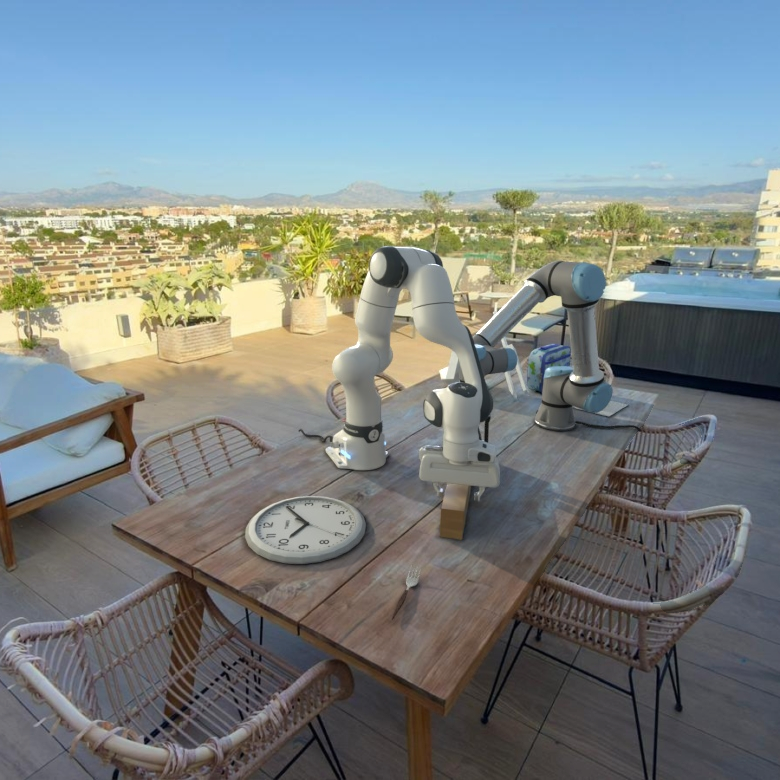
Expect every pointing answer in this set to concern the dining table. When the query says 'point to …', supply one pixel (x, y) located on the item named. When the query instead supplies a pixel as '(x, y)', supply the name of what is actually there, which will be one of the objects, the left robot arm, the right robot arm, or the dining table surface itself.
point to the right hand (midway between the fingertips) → (466, 462)
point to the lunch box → (545, 363)
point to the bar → (454, 511)
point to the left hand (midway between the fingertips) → (458, 498)
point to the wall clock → (305, 530)
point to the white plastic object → (453, 372)
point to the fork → (410, 583)
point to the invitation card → (610, 408)
